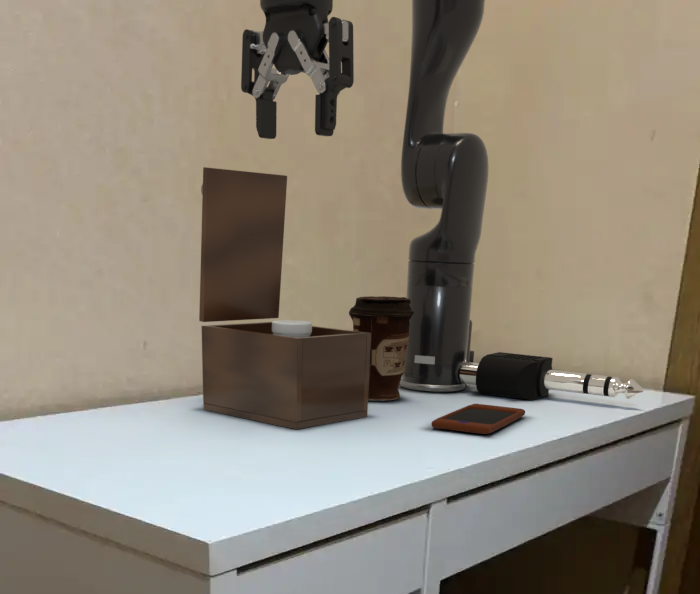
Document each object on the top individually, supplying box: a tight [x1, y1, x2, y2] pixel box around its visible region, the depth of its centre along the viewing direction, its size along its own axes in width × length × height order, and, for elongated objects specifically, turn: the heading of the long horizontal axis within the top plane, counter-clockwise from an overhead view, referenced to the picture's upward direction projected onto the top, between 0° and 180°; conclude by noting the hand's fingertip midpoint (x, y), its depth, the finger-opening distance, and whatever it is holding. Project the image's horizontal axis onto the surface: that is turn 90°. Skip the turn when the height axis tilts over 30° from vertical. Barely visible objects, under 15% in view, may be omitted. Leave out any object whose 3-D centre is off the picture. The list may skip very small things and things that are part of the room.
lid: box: [198, 166, 288, 323], centre depth 112 cm, size 16×13×5 cm
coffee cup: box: [348, 295, 414, 402], centre depth 124 cm, size 9×8×13 cm
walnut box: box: [201, 321, 371, 430], centre depth 112 cm, size 16×13×10 cm
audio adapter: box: [459, 351, 644, 401], centre depth 131 cm, size 11×5×25 cm
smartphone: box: [430, 403, 526, 435], centre depth 112 cm, size 7×1×15 cm
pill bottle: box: [271, 319, 313, 338], centre depth 111 cm, size 6×6×10 cm
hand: (294, 137), depth 102 cm, fingers open, 8 cm apart
